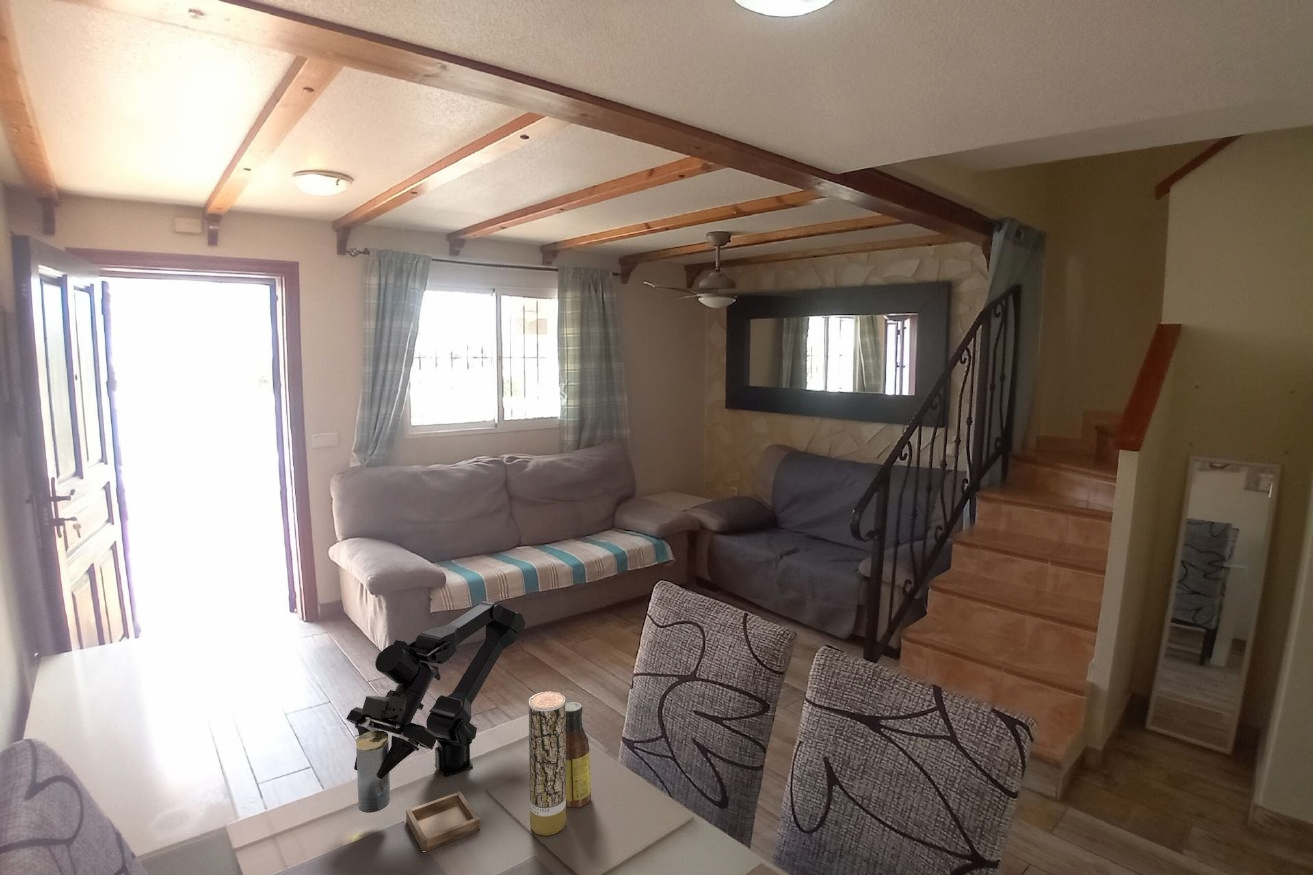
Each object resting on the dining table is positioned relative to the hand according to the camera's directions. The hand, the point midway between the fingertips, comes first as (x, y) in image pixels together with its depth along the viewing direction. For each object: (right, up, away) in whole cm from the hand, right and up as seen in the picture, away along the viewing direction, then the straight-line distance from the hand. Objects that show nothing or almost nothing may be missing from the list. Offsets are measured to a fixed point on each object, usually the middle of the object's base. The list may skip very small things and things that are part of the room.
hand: (367, 773), depth 126 cm
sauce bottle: (+38, -11, +10) cm, 41 cm away
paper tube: (+33, -11, +2) cm, 35 cm away
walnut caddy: (+13, -11, +2) cm, 17 cm away
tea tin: (+1, -6, +2) cm, 7 cm away
